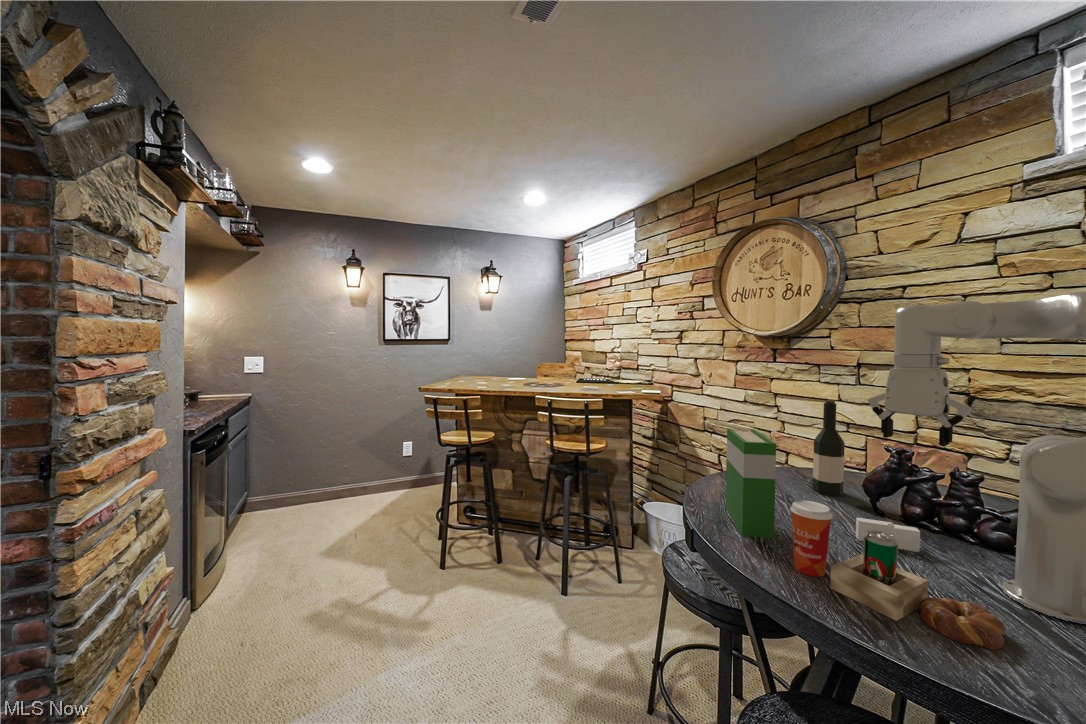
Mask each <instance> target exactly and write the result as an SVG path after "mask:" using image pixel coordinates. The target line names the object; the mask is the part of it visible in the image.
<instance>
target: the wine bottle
mask: <svg viewBox="0 0 1086 724" xmlns="http://www.w3.org/2000/svg"><path fill="white" fill-rule="evenodd" d="M835 402H836V400H829V399H828V400H825V402H824V403H823V419H822V420H823V424H822V429H821V430H820V432H819V433H818V434H817V436H815V438H814V439H813V458H812V460H813V461H812V462H813V464H812V466H813V467H812V468H813V469H812V490H813V491H814V492H816V493H818V494H821V495H826V496H831V497H834V496H835V497H841V496H842V495H843V494H844V471H845V470H844V469H845V445H846V444H845V443H846V442H845V441H844V439H843V438H842V436H841V435H840V434H839V432H838V430H837V403H835Z"/></svg>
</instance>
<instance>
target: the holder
mask: <svg viewBox="0 0 1086 724" xmlns="http://www.w3.org/2000/svg"><path fill="white" fill-rule="evenodd" d="M863 557H864V553H860V554H857V555H855V556H853V557H849V558H848V559H845V560H843V561H840V562H837V563H835V564H833V565H831V566H830V585H829V588H830V589H832V590H834V591H835V592H837V593H840V594H841V595H844V596H846V597H847V598H850V599H851V600H854V601H855V602H857V603H859V604H862V605H864V606H866V607H868V608H870V609H871V610H873V611H875V612H878V613H880V614H882V615H883V616H886V617H888V618H890V619H892V620H894V621H896V622H898V621H899V620H901V619H902V618H904V617H906V616H908V615H909V614H911V613H913V612H916V611H917V610H919V609H920V608H919V607H920V603H921V602H922V600H923V599H925V598H929V597H928V594H929V591H928V590H929V579H926V578H924V577H921V576H918V575H916V574H913V573H911V572H909V571H906V570H903V569H902V568H899V567H897V582H896V583H894V584H892V585H890V586H888V585H886V584H883V583H881V582H879V581H877V580H874V579H872V578H870V577H867V576H865V575H863ZM918 608H919V609H918Z"/></svg>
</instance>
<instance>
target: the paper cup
mask: <svg viewBox="0 0 1086 724" xmlns="http://www.w3.org/2000/svg"><path fill="white" fill-rule="evenodd" d="M789 509H790V511H791V524H792V528H791V529H792V551H793V565H794V569H795V570H796V571H797V572H799V573H801V574H802V575H805V576H808V577H813V578H821V577H824V576H825V574H826V567H827V558H828V551H829V550H828V549H829V540H830V539H829V538H830V529H831V520H832V519H833V517H834V515H833V514H832V512H831V509H830V507H828V506H827V505H825V504H823V503H819V502H816V501H812V500H802V499H801V500H798V501H797V500H796V501H793V502H792V504H791V506H790V507H789Z"/></svg>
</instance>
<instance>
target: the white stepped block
mask: <svg viewBox="0 0 1086 724" xmlns="http://www.w3.org/2000/svg"><path fill="white" fill-rule="evenodd" d="M855 520H856V522H855V538H856V539H857V541H859V542H860V541H862V542H864V536H865V535H866V534H867V531H870V530H876V531H882V532H885V533H888V534H891V535H892V536H894V537H895V538H896V542H897V544H898V550H903V549H904V551H908V552H909V551H911V552H915V553H920V549H921V548H920V547H921V546H920V542H921V541H920V540H921V531H920V530H919V529H918V527H914V526H907V525H900V524H894V523H893V522H890V521H883V520H877V519H876V520H875V519H869V518H865V517H864V518H863V517H856V519H855Z"/></svg>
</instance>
